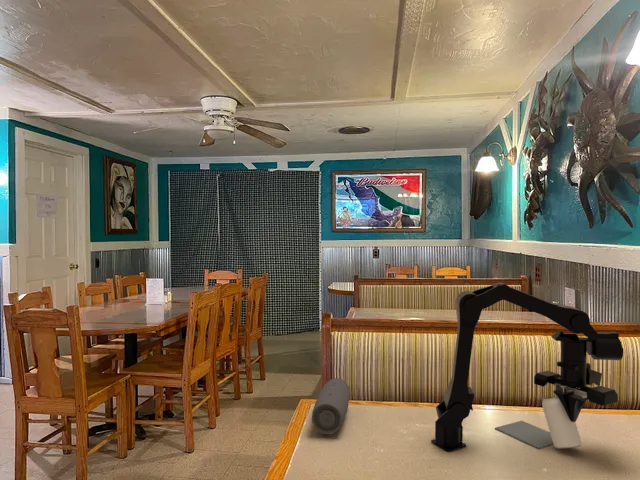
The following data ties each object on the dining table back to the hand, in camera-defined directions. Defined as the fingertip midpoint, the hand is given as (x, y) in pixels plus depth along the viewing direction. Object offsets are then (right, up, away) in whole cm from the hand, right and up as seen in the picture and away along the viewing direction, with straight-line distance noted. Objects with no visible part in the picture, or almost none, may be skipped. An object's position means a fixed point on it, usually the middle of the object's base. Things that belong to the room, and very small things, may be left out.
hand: (573, 421), depth 117 cm
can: (-1, -7, +1) cm, 7 cm away
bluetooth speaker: (-59, -8, +20) cm, 63 cm away
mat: (-6, -8, +11) cm, 15 cm away
